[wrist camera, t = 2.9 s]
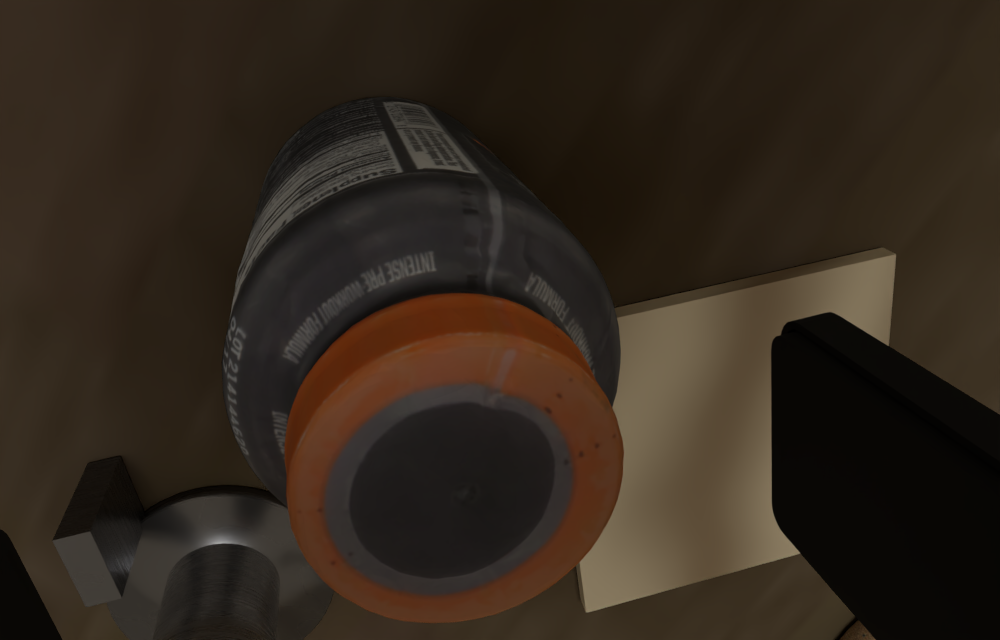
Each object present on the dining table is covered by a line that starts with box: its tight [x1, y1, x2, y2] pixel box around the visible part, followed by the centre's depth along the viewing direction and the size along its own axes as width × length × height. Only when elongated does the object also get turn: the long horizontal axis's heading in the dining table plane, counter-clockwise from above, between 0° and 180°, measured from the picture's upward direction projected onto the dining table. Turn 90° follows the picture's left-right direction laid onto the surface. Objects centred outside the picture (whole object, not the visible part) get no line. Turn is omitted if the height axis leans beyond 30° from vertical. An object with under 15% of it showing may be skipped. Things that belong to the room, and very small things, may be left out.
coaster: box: [576, 247, 896, 613], centre depth 24 cm, size 10×10×1 cm
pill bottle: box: [222, 97, 624, 623], centre depth 14 cm, size 6×6×11 cm
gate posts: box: [52, 456, 334, 640], centre depth 14 cm, size 26×6×8 cm, turn 8°
